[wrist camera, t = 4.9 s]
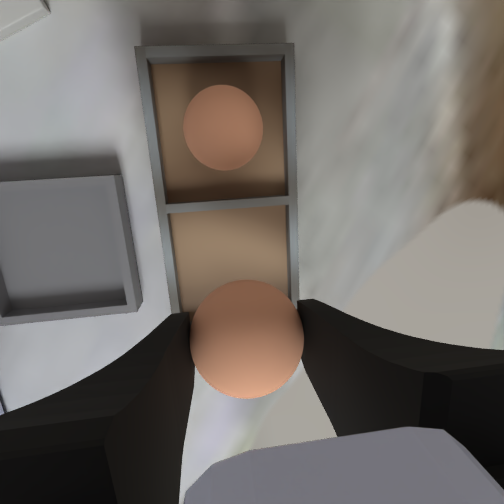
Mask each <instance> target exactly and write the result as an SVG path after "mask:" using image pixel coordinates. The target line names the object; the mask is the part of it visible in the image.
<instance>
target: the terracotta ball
mask: <svg viewBox="0 0 504 504" xmlns="http://www.w3.org/2000/svg"><path fill="white" fill-rule="evenodd" d="M189 342H190V351H191V355H192V359H193V361H194V364H195V366H196V368H197V370H198V371H199V373H200V375H201V376H202V377H203V378H204V379H205V381H206V382H207V383H208V384H209V385H211V386H212V387H213V388H215V389H216V390H218V391H220V392H221V393H223V394H226V395H228V396H231V397H235V398H245V399H248V398H257V397H261V396H264V395H267V394H269V393H272V392H273V391H275V390H277V389H278V388H280V387H281V386H282V385H283V384H285V383H286V382H287V381H288V379H289V378H290V377H291V376H292V375H293V373H294V372H295V370H296V368H297V366H298V364H299V362H300V359H301V356H302V352H303V346H304V331H303V326H302V321H301V319H300V316H299V314H298V311H297V309H296V308H295V306H294V305H293V303H292V302H291V301H290V299H289V298H288V297H287V296H286V295H285V294H284V293H283V292H281V291H280V290H278V289H277V288H276V287H274V286H272V285H270V284H268V283H265V282H261V281H257V280H237V281H232V282H229V283H226V284H224V285H222V286H220V287H218V288H217V289H215V290H214V291H212V292H211V293H210V294H209V295H208V296H207V297H206V298H205V299H204V300H203V301H202V303H201V304H200V305H199V307H198V309H197V311H196V312H195V315H194V317H193V320H192V323H191V327H190V337H189Z"/></svg>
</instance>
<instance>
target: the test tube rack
mask: <svg viewBox="0 0 504 504" xmlns="http://www.w3.org/2000/svg"><path fill="white" fill-rule="evenodd" d="M50 14H51V13H50V11H49V9H48V7H47V6H46V4H45V2H44V1H43V0H0V41H2V40H4V39H6V38H8V37H10V36H11V35H13V34H15V33H17V32H19V31H21V30H22V29H24V28H26V27H28V26H30V25H32V24H33V23H35V22H37V21H39V20H41V19H43V18H44V17H46V16H48V15H50Z"/></svg>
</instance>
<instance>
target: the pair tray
mask: <svg viewBox="0 0 504 504" xmlns="http://www.w3.org/2000/svg"><path fill="white" fill-rule="evenodd" d="M134 48H135V55H136V62H137V70H138V77H139V84H140V91H141V98H142V105H143V112H144V119H145V127H146V134H147V141H148V148H149V155H150V162H151V169H152V177H153V184H154V191H155V198H156V205H157V212H158V219H159V227H160V234H161V241H162V248H163V255H164V262H165V269H166V277H167V284H168V291H169V298H170V305H171V312H172V314H173V313H182V312H189V316H190V324H191V323H192V320H193V317H194V315H195V312H196V311H197V309H198V307H199V305H200V304H201V303H202V301H203V300H204V299H205V298H206V297H207V296H208V295H209V294H210V293H211V292H212V291H214V290H215V289H217V288H218V287H220V286H222V285H224V284H226V283H229V282H232V281H237V280H257V281H261V282H265V283H268V284H270V285H272V286H274V287H276V288H277V289H278V290H280V291H281V292H283V293H284V294H285V295H286V296H287V297H288V298H289V299H290V301H291V302H292V303H293V305H294V306H295V308H296V309H297V300H299V257H298V208H297V159H296V109H295V60H294V43H269V44H222V45H174V46H134ZM214 85H229V86H233V87H236V88H238V89H240V90H242V91H243V92H245V93H246V94H247V95H249V96H250V97H251V99H252V100H253V101H254V102H255V104H256V105H257V107H258V109H259V111H260V114H261V117H262V121H263V137H262V141H261V144H260V147H259V149H258V151H257V153H256V154H255V155H254V157H253V158H252V159H251V160H250V161H249V162H248V163H246V164H245V165H243V166H241V167H239V168H237V169H233V170H227V171H221V170H216V169H212V168H210V167H207V166H206V165H204V164H202V163H201V162H200V161H198V160H197V159H196V158H195V157H194V155H193V154H192V153H191V151H190V150H189V148H188V146H187V143H186V140H185V137H184V132H183V120H184V115H185V112H186V109H187V107H188V105H189V103H190V102H191V100H192V99H193V98H194V97H195V96H196V95H197V94H198V93H199V92H200V91H202V90H204V89H205V88H208V87H210V86H214Z"/></svg>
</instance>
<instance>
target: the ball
mask: <svg viewBox="0 0 504 504" xmlns="http://www.w3.org/2000/svg"><path fill="white" fill-rule="evenodd" d="M183 132H184V137H185V140H186V143H187V146H188V148H189V150H190V151H191V153H192V154H193V155H194V157H195V158H196V159H197V160H198V161H200V162H201V163H202V164H204V165H206V166H207V167H210V168H212V169H216V170H221V171H227V170H233V169H237V168H239V167H241V166H243V165H245V164H246V163H248V162H249V161H250V160H251V159H252V158H253V157H254V155H255V154H256V153H257V151H258V149H259V147H260V144H261V141H262V137H263V121H262V117H261V114H260V111H259V109H258V107H257V105H256V104H255V102H254V101H253V100H252V99H251V97H250V96H249V95H247V94H246V93H245V92H243V91H242V90H240V89H238V88H236V87H233V86H229V85H214V86H210V87H208V88H205V89H204V90H202V91H200V92H199V93H198V94H197V95H196V96H195V97H194V98H193V99H192V100H191V102H190V103H189V105H188V107H187V109H186V112H185V115H184V120H183Z"/></svg>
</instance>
